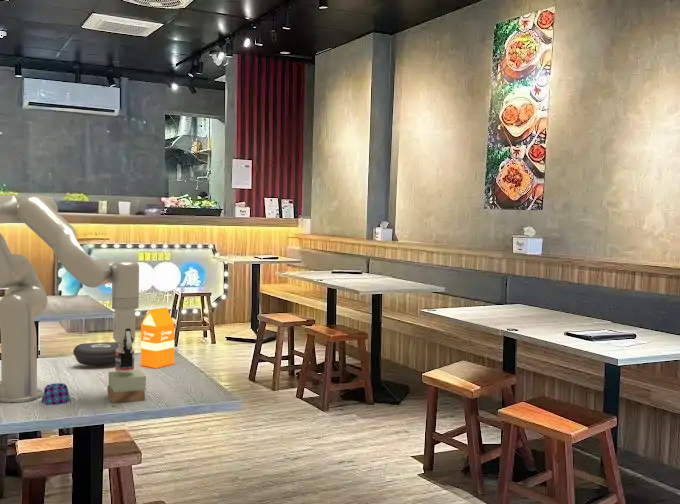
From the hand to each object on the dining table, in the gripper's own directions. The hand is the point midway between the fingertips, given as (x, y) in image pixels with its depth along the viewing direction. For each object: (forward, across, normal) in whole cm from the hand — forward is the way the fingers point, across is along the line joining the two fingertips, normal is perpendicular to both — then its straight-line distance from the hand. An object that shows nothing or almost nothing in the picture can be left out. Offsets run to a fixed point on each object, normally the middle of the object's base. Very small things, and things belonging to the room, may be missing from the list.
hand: (124, 363), depth 210 cm
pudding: (+11, -4, -18) cm, 22 cm away
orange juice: (+11, -41, +18) cm, 46 cm away
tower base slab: (+11, 0, 0) cm, 11 cm away
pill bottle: (+2, 0, 0) cm, 2 cm away
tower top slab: (+7, 0, +1) cm, 7 cm away
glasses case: (+11, -48, 0) cm, 49 cm away
